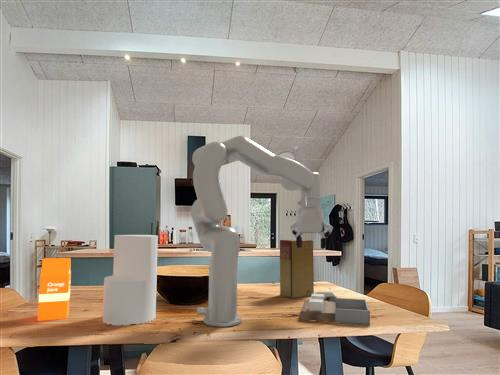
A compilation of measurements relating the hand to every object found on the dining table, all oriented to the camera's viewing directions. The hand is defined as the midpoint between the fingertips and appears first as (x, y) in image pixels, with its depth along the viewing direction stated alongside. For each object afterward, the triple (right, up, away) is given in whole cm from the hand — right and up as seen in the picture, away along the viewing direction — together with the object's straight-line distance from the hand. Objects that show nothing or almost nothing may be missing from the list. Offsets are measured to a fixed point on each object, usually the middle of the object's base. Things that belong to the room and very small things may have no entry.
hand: (311, 248), depth 144 cm
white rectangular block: (-1, -19, -15) cm, 24 cm away
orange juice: (-91, -21, -16) cm, 95 cm away
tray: (+12, -22, -13) cm, 28 cm away
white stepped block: (-65, -21, -17) cm, 71 cm away
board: (+1, -22, -10) cm, 25 cm away
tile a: (+2, -20, -5) cm, 21 cm away
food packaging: (-2, -26, +24) cm, 35 cm away
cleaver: (+9, -26, +16) cm, 32 cm away
